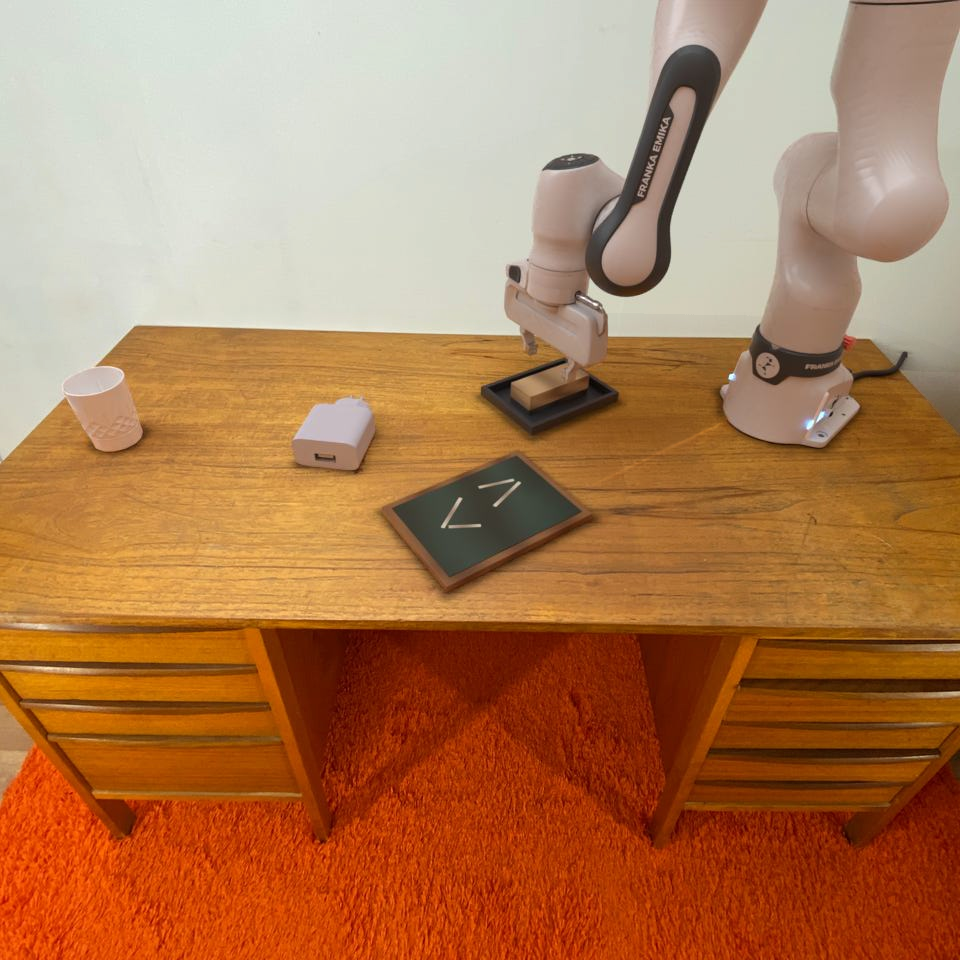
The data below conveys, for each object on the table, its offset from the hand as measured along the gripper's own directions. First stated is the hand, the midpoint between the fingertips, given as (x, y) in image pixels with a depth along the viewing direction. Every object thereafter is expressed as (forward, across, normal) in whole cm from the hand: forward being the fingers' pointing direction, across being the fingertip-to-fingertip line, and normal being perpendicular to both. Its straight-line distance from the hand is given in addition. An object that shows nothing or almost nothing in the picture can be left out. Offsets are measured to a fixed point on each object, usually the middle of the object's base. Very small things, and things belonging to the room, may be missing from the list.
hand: (548, 366), depth 99 cm
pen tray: (+6, 0, -1) cm, 6 cm away
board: (+7, -17, +24) cm, 30 cm away
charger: (+7, +9, +31) cm, 33 cm away
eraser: (+6, 0, -1) cm, 6 cm away
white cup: (+8, +27, +59) cm, 66 cm away
